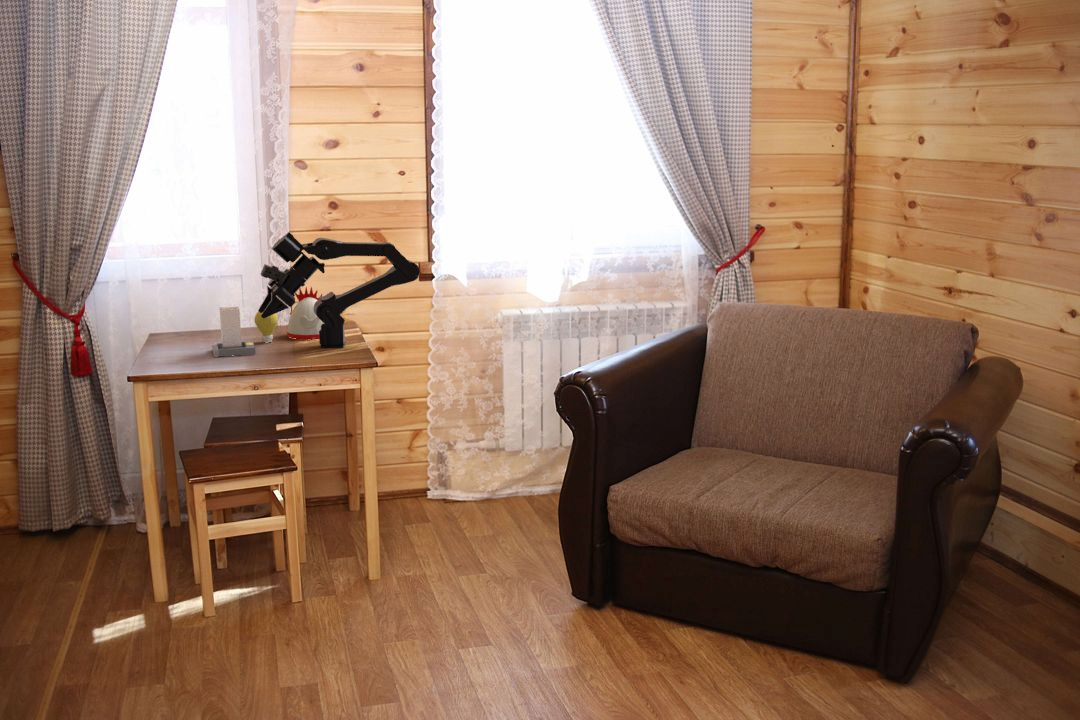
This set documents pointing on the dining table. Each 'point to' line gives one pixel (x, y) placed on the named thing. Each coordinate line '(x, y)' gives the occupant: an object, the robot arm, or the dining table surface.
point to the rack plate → (234, 349)
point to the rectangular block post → (230, 327)
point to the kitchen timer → (304, 317)
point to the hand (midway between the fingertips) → (260, 314)
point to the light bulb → (266, 325)
